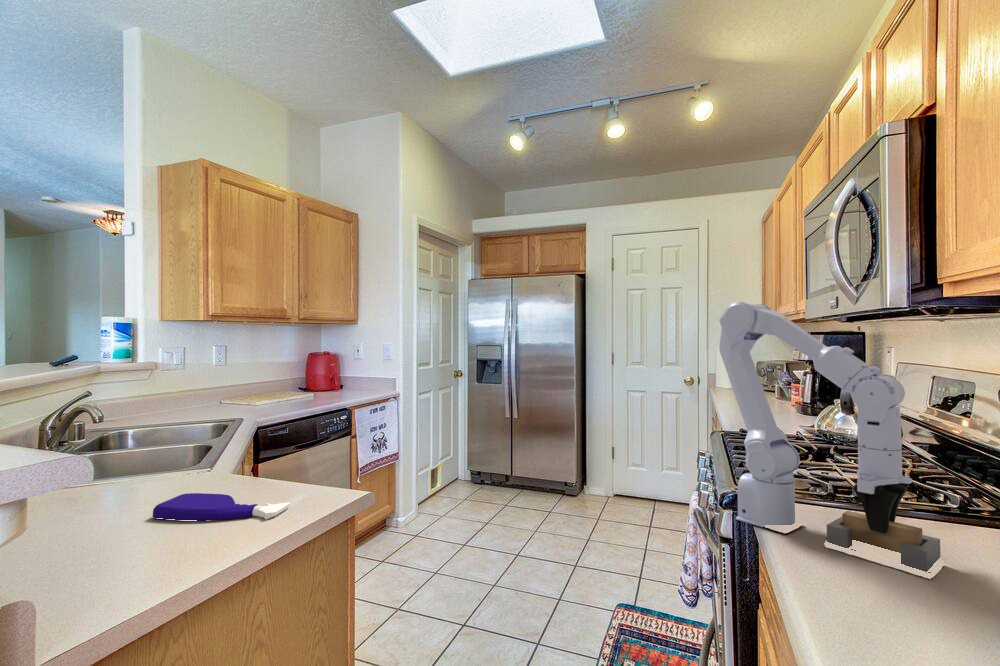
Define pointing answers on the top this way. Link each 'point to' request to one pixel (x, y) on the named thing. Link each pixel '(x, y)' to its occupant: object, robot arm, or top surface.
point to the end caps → (910, 553)
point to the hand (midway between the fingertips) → (881, 529)
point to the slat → (887, 540)
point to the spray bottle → (212, 508)
